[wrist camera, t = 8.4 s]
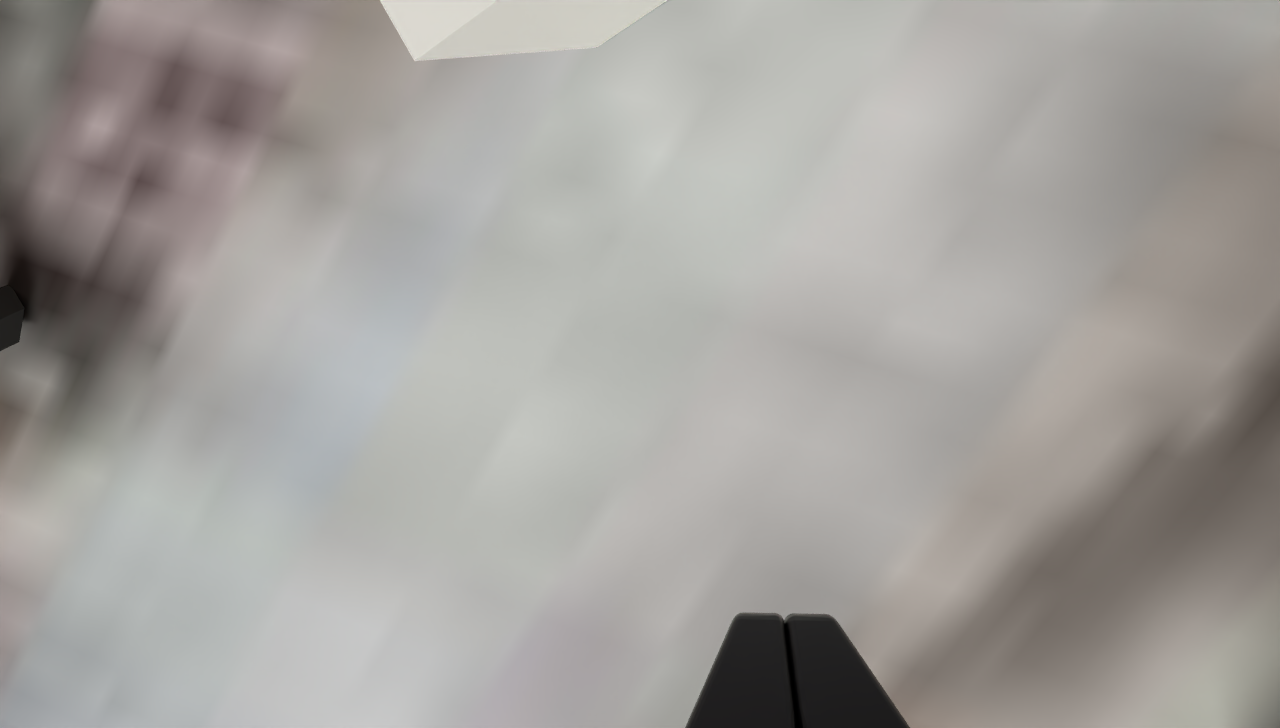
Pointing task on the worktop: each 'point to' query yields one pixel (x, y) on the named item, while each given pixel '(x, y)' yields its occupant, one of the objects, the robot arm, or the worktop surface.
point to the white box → (509, 25)
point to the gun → (10, 317)
